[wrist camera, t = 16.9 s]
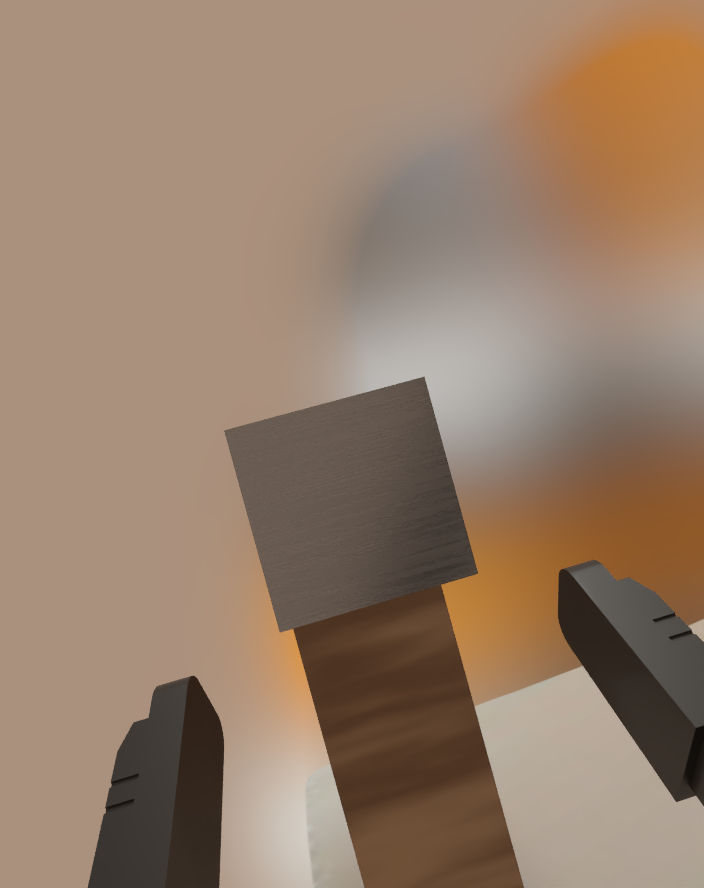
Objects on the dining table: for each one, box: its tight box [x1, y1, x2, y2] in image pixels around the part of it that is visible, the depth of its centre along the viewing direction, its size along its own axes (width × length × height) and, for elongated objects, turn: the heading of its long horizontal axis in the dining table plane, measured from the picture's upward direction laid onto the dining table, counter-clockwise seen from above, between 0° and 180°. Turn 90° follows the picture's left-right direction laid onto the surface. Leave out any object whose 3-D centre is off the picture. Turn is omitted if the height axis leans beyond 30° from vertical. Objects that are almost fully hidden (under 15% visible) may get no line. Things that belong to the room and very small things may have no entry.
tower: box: [293, 585, 524, 888], centre depth 32 cm, size 12×8×37 cm, turn 4°
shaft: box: [225, 377, 478, 632], centre depth 21 cm, size 27×3×3 cm, turn 4°
